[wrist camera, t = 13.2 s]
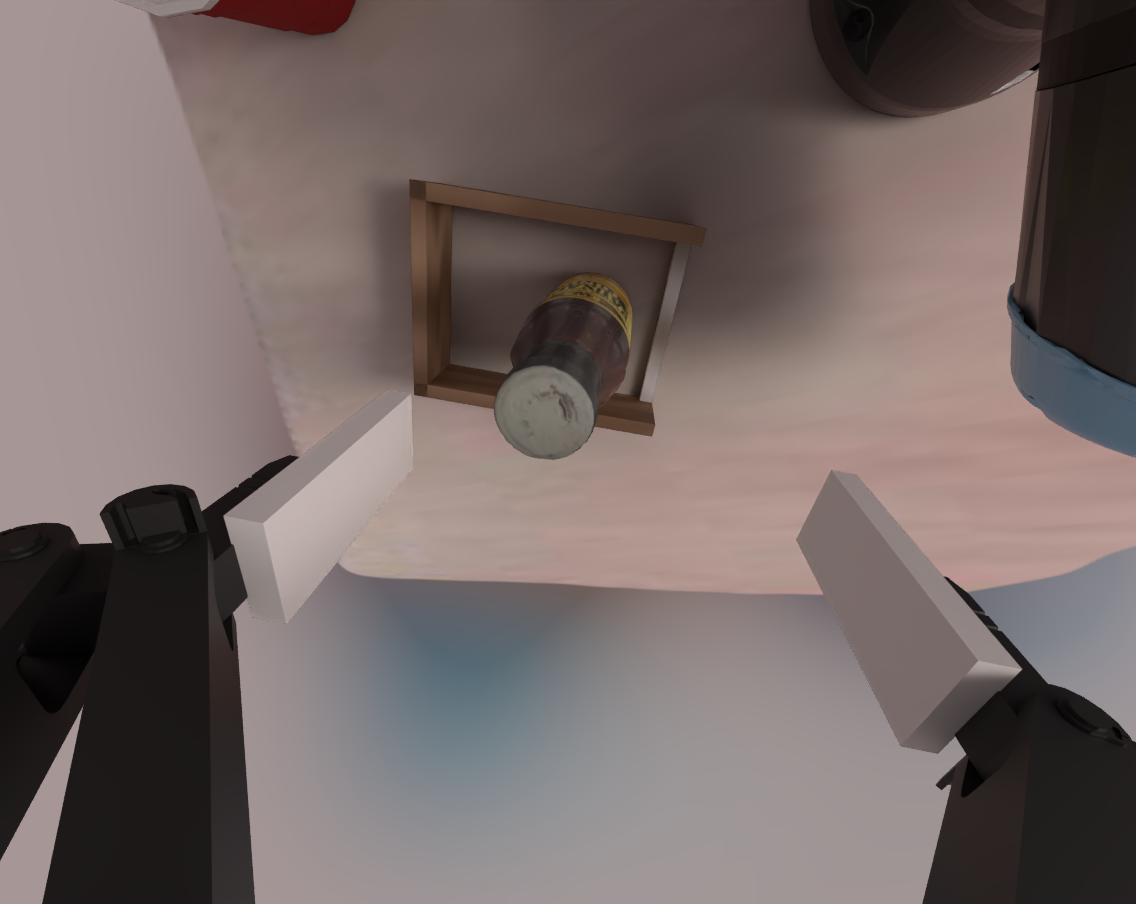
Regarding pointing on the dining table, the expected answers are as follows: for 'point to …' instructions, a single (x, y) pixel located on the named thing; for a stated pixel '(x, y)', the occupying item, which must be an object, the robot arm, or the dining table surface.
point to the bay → (435, 294)
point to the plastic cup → (260, 12)
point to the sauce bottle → (565, 367)
